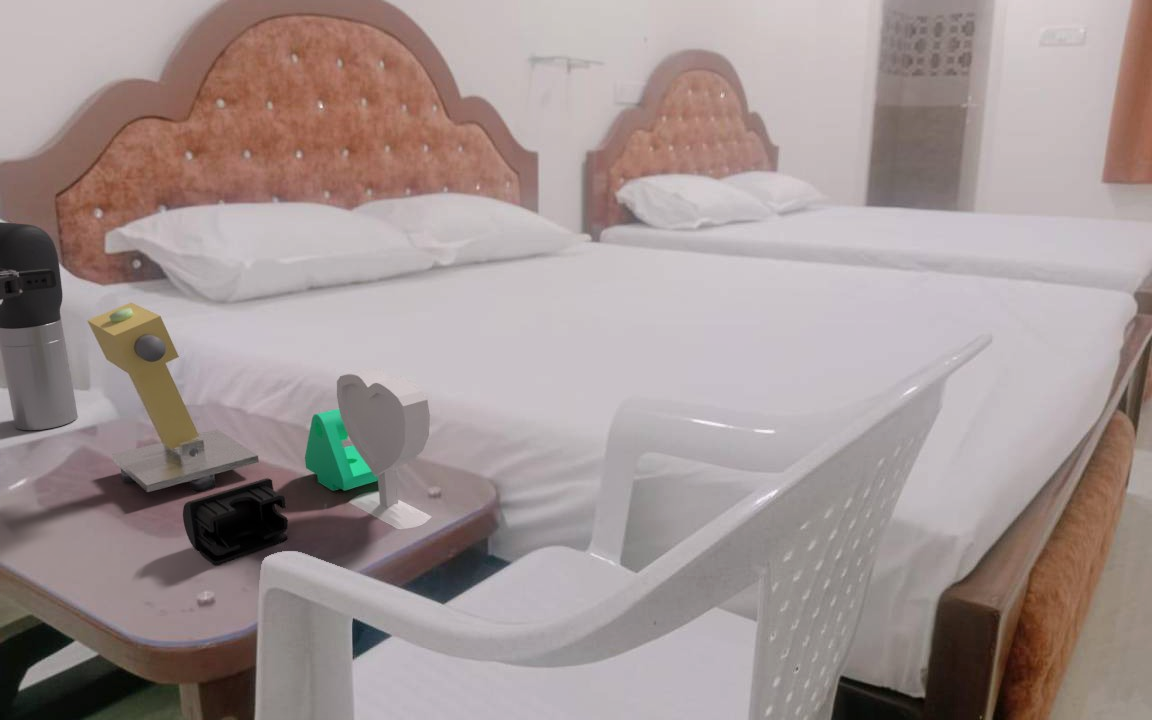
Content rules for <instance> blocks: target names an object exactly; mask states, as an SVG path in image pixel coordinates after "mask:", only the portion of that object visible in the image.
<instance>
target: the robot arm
mask: <svg viewBox="0 0 1152 720" xmlns="http://www.w3.org/2000/svg"><path fill="white" fill-rule="evenodd" d="M58 256H59V255H58V252H57V247H56V245H55V243H54V240H53V239H52V238H51V236H50V235H49V233H47V232H46V231H45V230H44V229H42V228H41V227H38V226H36V225H33V224H27V223H16V222H15V223H14V222H3V221H2V222H0V301H1V300H2V301H1V303H0V355H1V361H2V364H3V365H2V366H3V370H4V371H3V372H4V374H5V380H6V385H7V386H6V387H7V391H8V395H9V396H8V397H9V400H10V401H9V402H10V406H11V412H12V416H13V422H14V427H15V428H16V429H17V430H23V431H40V430H41V431H42V430H47V429H53V428H57V427H61V426H65V425H67V424H69V423H72V422H74V421H76V420H77V419H78V417H79V415H78V409H77V402H76V399H75V398H76V397H75V391H74V384H73V381H72V380H73V379H72V373H71V368H70V367H71V366H70V362H69V356H68V350H67V344H66V339H65V334H64V328H63V322H62V316H61V306H62V304H63V287H62V286H63V285H62V278H61V276H62V275H61V270H60V263H59V262H60V261H59V257H58Z"/></svg>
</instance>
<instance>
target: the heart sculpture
mask: <svg viewBox="0 0 1152 720" xmlns="http://www.w3.org/2000/svg"><path fill="white" fill-rule="evenodd" d="M336 400H337V403H338V409H339V411H340V416H341V418H342V421H343V423H344V426H345V429H346V431H347V434H348V438H349V440H350V441H351V443H352V446H355V448H356V450H357V451H358V453H359V454H360V456H361V457H362V458H363V460H364V461H365V463H366V464H367V465H368V467H369V468H370V470H371V471H372V473H373V474H374V476H375V477H376V476H378V481H377V482H378V483H377V484H378V490H376V491H371V492H364V493H361V494H358V495H357V496H355V497H353V498H352V499H351V500H349V501H348V503H349V504H352V505H353V506H355V507H356V508H358V509H360V510H362V511H363V512H365V513H367V514H369V515H371V516H373V517H375V518H377V519H379V520H380V521H382V522H384V523H386V524H388V525H390V526H391V527H394V528H396V529H397V530H407V529H412V528H417V527H421V526H422V525H424V524H425V523H427V522H428V521H429V520H430V519H431V518H432V517H433V516H431V515H430V514H428V513H426V512H424V511H422V510H419V509H418V508H417V507H414V506H412V505H410V504H408V503H406V502H405V501H402V500H400V499H399V498H398V497H399V496H398V482H397V470H399V469H400V468H401V467H403V466H405V465H406V464H408V463H410V462H411V461H413V460H415V459H416V458H417V457H418V456H419V455H420V454H421V453H422V452H423V451H424V450H425V449H424V448H425V446H426V444H427V441H428V439H429V435H430V424H431V423H430V419H431V414H430V408H429V402H428V399H427V396H426V395H425V393H424V392H423V391H422V389H420V388H419V387H418V386H417V385H416V384H415V383H414V382H412V381H411V380H409V379H408V378H406V377H402V376H398V377H394V378H390V376H389V375H388V374H387V373H386V372H385V371H384V370H382V369H381V368H368V369H363V370H358V371H356V372H352V373H351V372H350V373H347V374H343V375H340V376H339V378H338V379H337V380H336Z"/></svg>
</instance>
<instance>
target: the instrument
mask: <svg viewBox="0 0 1152 720" xmlns="http://www.w3.org/2000/svg"><path fill="white" fill-rule="evenodd" d="M86 321H87V323H88V326H89V327H90V329H91V332H92V333H93V335H94V337H95V338H96V341H97V344H98V346H99V347H100V349H101V351H102V353H103V356H104V357H105V359H106V360H107V361H109V362H110V363H111V364H113V366H116V367H117V368H119V369H120V370H123V371H124V372H125V373H126V374H128V376H129V377H130V380H131V382H132V384H133V385H134V388H135V390H136V392H137V394H138V397H139V399H140V400H141V402H142V405H143V406H144V409H145V411H146V412H147V415H148V417H149V419H150V421H151V423H152V425H153V427H154V429H155V431H156V434H157V436H158V437H159V439H160V441H161V442H160V443H163V444H165V445H166V446H167V447H169V448H170V449H171V450H173V449H175V448H177V447H178V446H179V443H182V442H186V441H190V440H192V439H194V438H196V437H198V436H199V435H198V434H199V433H198V430H197V428H196V426H195V424H194V421H193V420H192V418H191V415H190V413H189V411H188V408H187V406H186V404H185V402H184V400H183V398H182V396H181V394H180V392H179V390H178V387H177V385H176V383H175V381H174V379H173V376H172V375H171V372H170V370H169V368H168V366H167V363H169V362H171V361H173V360H176V359H177V358H179V357H180V356H179V354H178V350H176V347H175V346H174V345H175V344H174V343H173V340H172V338H171V336H170V334H169V332H168V330H167V328H166V325H165V323H164V321H163V319H162V317H161V315H159V314H157V313H155V312H152V311H150V310H149V309H146V308H144V307H141V306H139V305H137V304H136V303H133V302H129V303H126V304H124V305H121V306H119V307H117V308H114V309H112V310H109V311H106V312H104V313H101V314H100V315H97V316H95V317H92V318H90V319H87V320H86Z"/></svg>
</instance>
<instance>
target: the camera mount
mask: <svg viewBox="0 0 1152 720" xmlns="http://www.w3.org/2000/svg"><path fill="white" fill-rule="evenodd" d="M348 438H349V436H348V434H347V431H346V429H345V426H344V423H343V421H342V418H341V416H340V411H339V408H336V409H332V410H328V411H324V412H319V413H316V414H314V415H313V416H312V419H311V422H310V428H309V434H308V438H307V439H308V440H307V445H306V450H305V455H304V461H305V462H304V463H305V469H307V470H309V471H311V472H312V473H314V474H315V475H316V476H317V482H318V484H319V483H320V484H321V485H323V486H324V487H325V488H327V489H329V490H330V491H337V490H343V491H344V492H345V491H348V490H351V489H354V488H357V487H361V486H364V485H368V484H371V483H374V482H378V476H376V477H375V476H374V474H373V473H372V471H371V470H370V468H369V467H368V465H367V464H366V463H365V461H364V460H363V458H362V457H361V456H360V454H359V453H358V451H357V450H356V448H355V446H354V445H348V446H344V445H343V443H342V442H343V441H346V440H348Z"/></svg>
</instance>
